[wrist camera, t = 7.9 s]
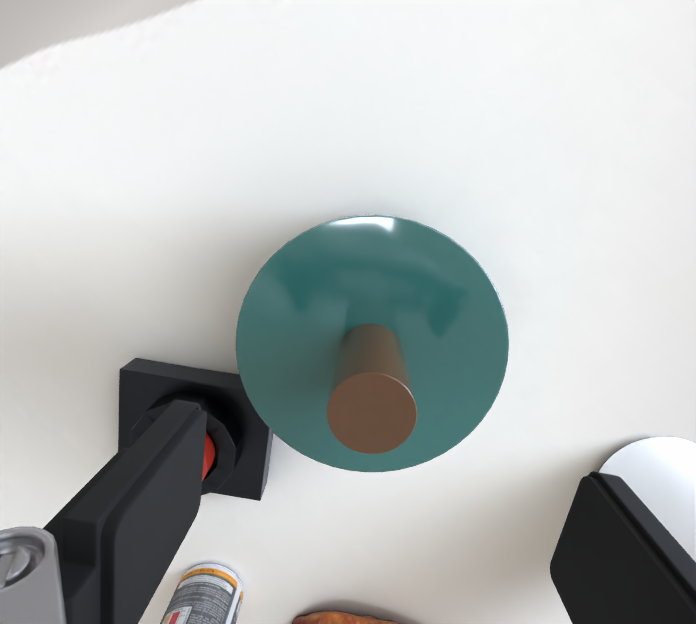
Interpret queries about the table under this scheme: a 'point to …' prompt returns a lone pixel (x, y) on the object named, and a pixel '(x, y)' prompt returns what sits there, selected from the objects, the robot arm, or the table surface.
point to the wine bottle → (662, 482)
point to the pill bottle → (205, 597)
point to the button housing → (222, 423)
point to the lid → (372, 343)
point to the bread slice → (338, 619)
